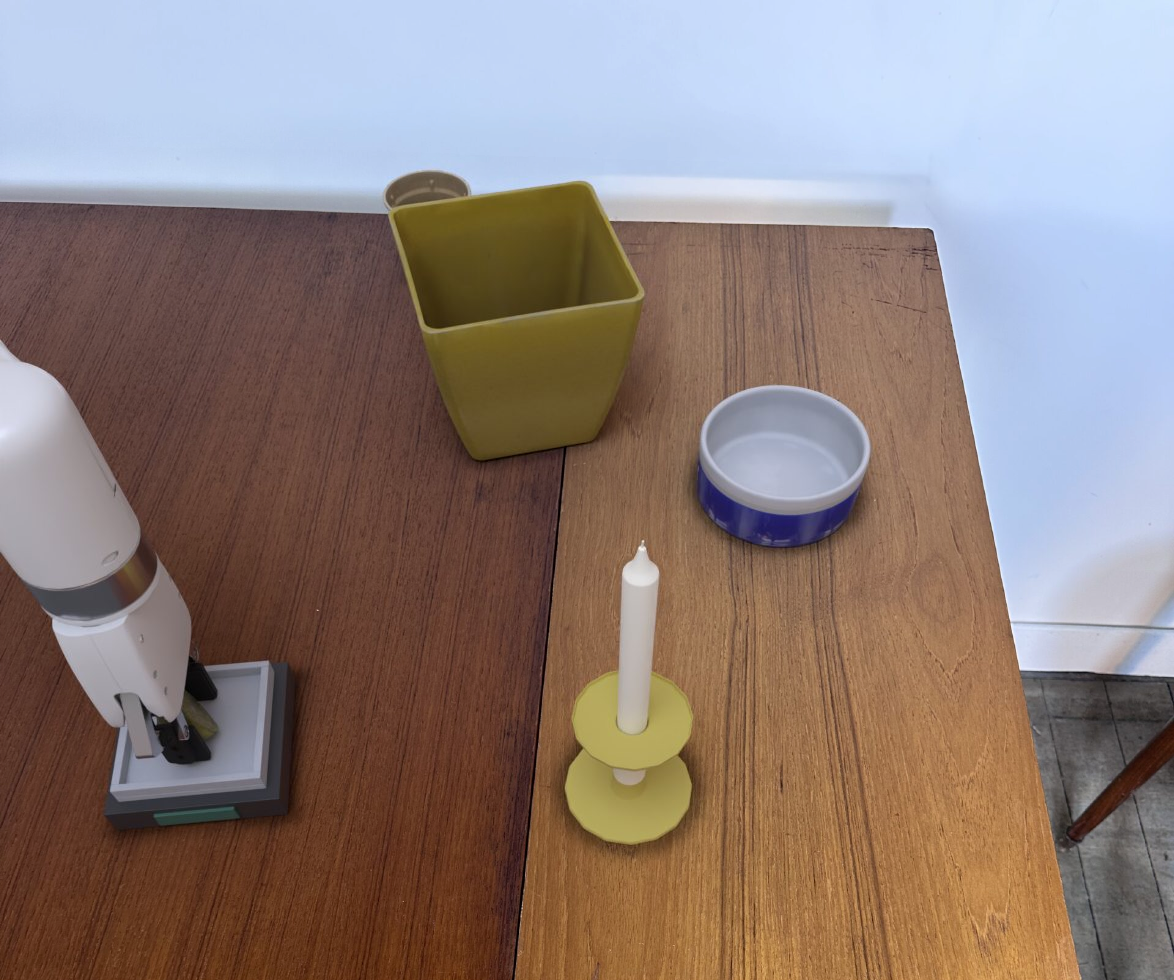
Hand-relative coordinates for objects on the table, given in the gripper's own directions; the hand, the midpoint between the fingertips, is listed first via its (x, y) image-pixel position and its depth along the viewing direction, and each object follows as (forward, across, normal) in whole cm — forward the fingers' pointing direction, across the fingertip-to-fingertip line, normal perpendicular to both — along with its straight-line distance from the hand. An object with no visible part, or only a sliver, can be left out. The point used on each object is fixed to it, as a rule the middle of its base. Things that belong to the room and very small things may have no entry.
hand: (193, 726), depth 75 cm
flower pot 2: (+4, -38, +28) cm, 47 cm away
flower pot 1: (+4, -63, +20) cm, 66 cm away
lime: (+1, 0, 0) cm, 1 cm away
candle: (+4, +7, +33) cm, 34 cm away
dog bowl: (+4, -24, +51) cm, 57 cm away
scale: (+4, 0, 0) cm, 4 cm away
